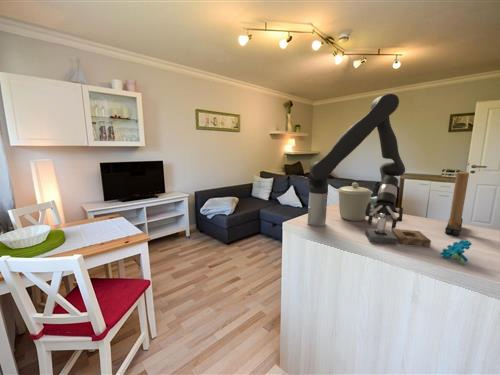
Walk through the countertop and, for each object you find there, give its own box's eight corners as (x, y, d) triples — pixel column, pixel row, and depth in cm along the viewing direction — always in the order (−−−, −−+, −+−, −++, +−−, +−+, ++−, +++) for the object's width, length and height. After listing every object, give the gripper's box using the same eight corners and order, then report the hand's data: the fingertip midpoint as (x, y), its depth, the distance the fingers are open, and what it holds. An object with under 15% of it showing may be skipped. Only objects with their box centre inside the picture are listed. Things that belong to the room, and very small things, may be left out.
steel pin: (376, 240, 98) (379, 214, 96) (374, 237, 101) (377, 212, 99) (384, 241, 97) (387, 214, 95) (382, 238, 100) (385, 212, 98)
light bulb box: (377, 217, 130) (379, 199, 128) (366, 214, 136) (368, 197, 134) (388, 215, 135) (390, 197, 133) (377, 212, 141) (379, 195, 139)
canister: (376, 223, 119) (380, 185, 116) (342, 223, 120) (345, 185, 116) (360, 214, 137) (363, 180, 133) (331, 213, 137) (333, 180, 134)
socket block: (370, 242, 96) (370, 236, 95) (365, 234, 105) (365, 228, 105) (396, 245, 93) (397, 238, 92) (388, 236, 102) (389, 230, 102)
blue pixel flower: (440, 246, 88) (468, 235, 82) (452, 258, 87) (482, 248, 80) (437, 259, 81) (468, 248, 74) (451, 273, 79) (483, 263, 72)
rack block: (399, 244, 94) (400, 237, 93) (390, 234, 104) (391, 228, 104) (429, 247, 91) (430, 240, 90) (418, 237, 101) (418, 231, 101)
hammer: (458, 241, 102) (468, 179, 93) (443, 238, 105) (452, 178, 96) (462, 224, 115) (472, 167, 106) (449, 221, 118) (457, 167, 109)
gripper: (369, 189, 106) (362, 218, 99) (405, 193, 97) (400, 225, 90) (370, 198, 111) (363, 226, 104) (404, 202, 102) (400, 233, 95)
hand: (381, 226), depth 97 cm, fingers open, 8 cm apart
